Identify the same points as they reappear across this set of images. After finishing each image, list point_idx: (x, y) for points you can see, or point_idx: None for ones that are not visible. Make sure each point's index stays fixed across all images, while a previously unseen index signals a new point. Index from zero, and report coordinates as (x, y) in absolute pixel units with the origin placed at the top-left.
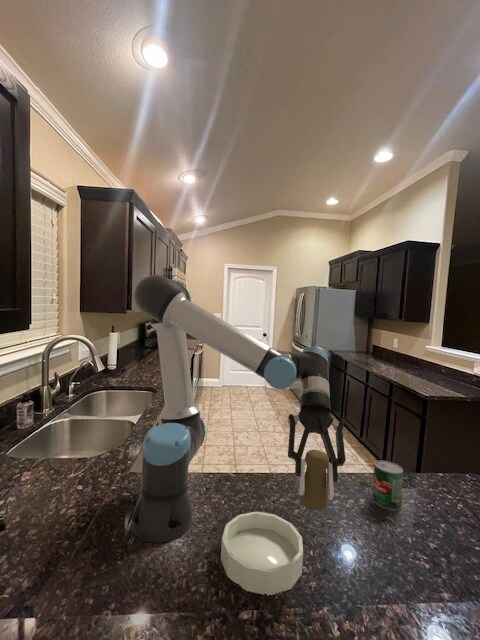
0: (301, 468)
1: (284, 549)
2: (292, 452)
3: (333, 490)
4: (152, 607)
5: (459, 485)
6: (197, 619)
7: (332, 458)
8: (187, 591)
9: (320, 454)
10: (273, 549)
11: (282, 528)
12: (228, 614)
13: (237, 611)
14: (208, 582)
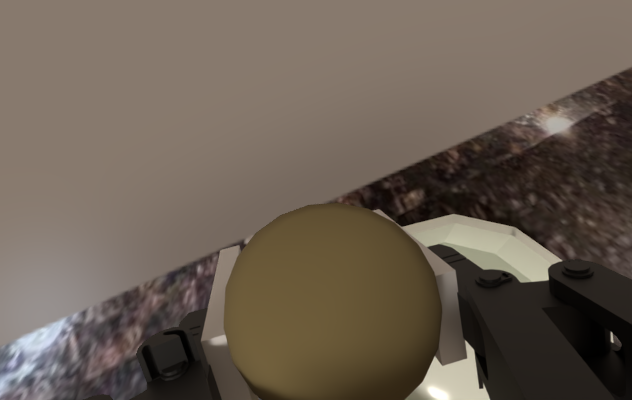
0: (422, 245)
1: (410, 394)
2: (560, 272)
3: (218, 261)
4: (558, 143)
5: None
6: (480, 158)
7: (189, 379)
8: (535, 188)
9: (297, 255)
10: (439, 376)
11: None
12: (440, 185)
13: (430, 196)
14: (518, 221)
